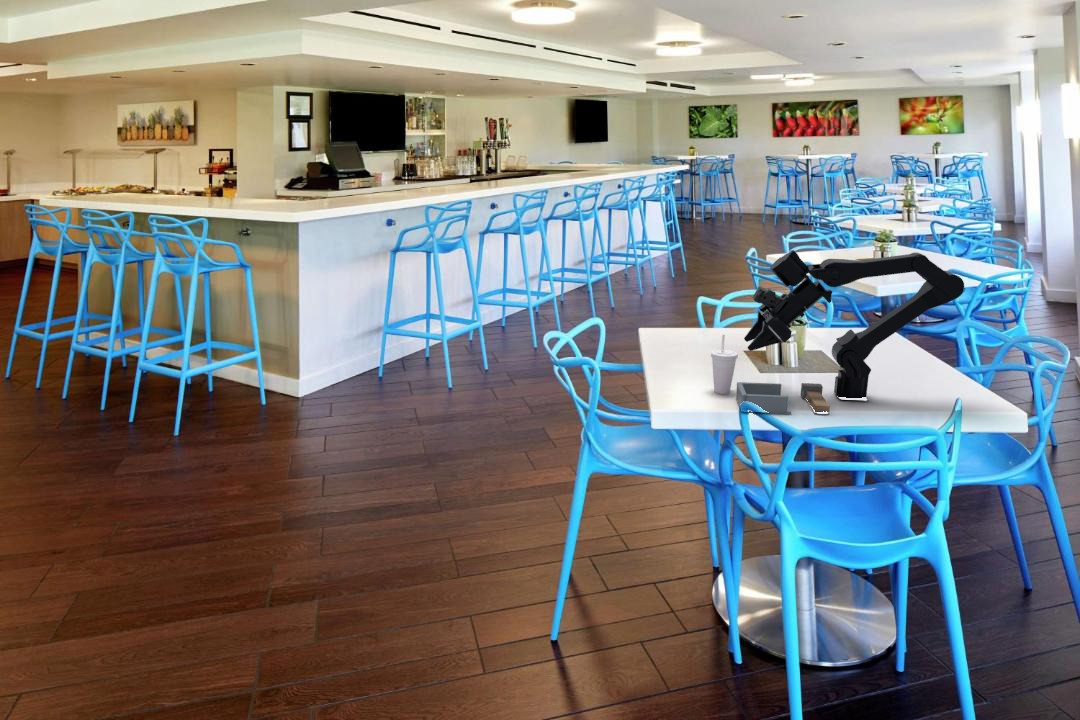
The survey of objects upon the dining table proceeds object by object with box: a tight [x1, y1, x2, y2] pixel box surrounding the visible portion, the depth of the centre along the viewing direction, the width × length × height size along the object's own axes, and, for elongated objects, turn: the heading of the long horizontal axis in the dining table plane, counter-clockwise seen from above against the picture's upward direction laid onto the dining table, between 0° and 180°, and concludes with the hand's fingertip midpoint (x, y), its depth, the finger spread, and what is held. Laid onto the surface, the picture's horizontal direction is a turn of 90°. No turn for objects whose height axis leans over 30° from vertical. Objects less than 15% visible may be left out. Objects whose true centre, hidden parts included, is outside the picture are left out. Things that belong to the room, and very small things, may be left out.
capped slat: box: [800, 382, 830, 413], centre depth 195 cm, size 14×4×3 cm, turn 173°
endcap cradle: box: [735, 381, 793, 415], centre depth 194 cm, size 11×10×4 cm
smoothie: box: [710, 334, 739, 395], centre depth 204 cm, size 6×6×14 cm
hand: (746, 344), depth 202 cm, fingers open, 9 cm apart
